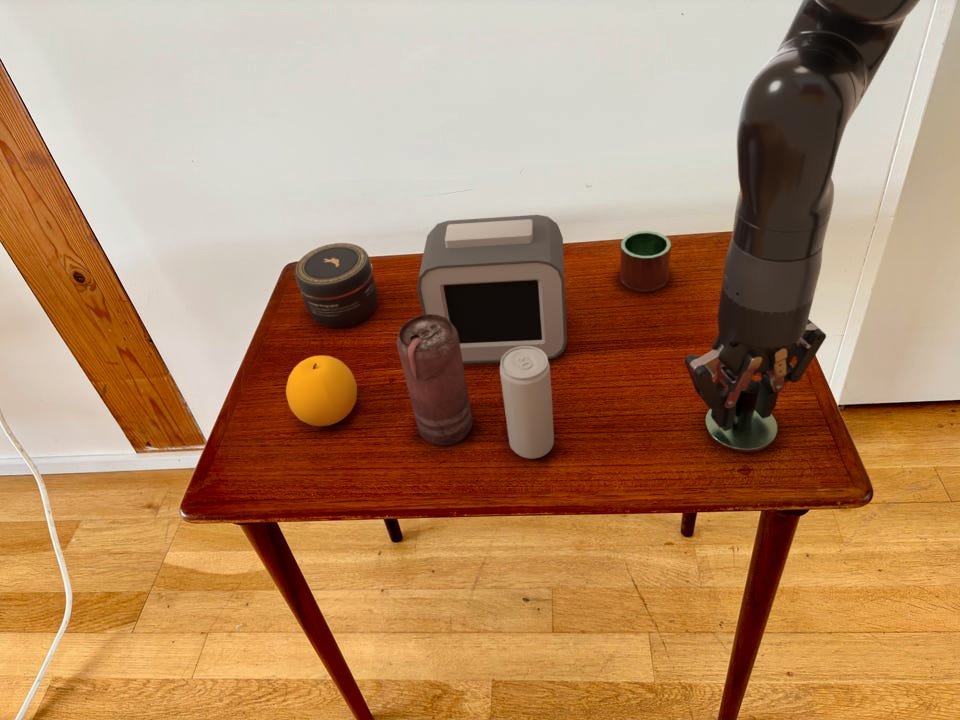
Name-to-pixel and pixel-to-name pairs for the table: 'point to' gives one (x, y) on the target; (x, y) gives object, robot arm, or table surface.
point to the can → (435, 378)
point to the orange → (321, 390)
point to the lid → (744, 425)
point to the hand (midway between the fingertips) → (742, 417)
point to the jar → (337, 284)
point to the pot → (645, 261)
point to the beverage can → (527, 401)
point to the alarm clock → (497, 284)
